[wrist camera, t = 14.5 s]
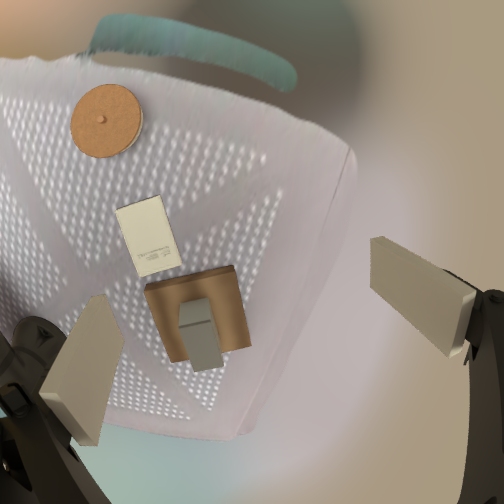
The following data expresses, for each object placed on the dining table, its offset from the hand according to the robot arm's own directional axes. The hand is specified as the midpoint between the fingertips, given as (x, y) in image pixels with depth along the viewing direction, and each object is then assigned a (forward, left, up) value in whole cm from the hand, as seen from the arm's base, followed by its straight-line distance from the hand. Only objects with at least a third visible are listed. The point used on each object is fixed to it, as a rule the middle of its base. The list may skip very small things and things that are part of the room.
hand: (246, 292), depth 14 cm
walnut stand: (-7, -22, -37) cm, 43 cm away
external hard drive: (-12, -5, -38) cm, 40 cm away
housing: (-7, -22, -34) cm, 41 cm away
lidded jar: (-13, +14, -37) cm, 42 cm away
